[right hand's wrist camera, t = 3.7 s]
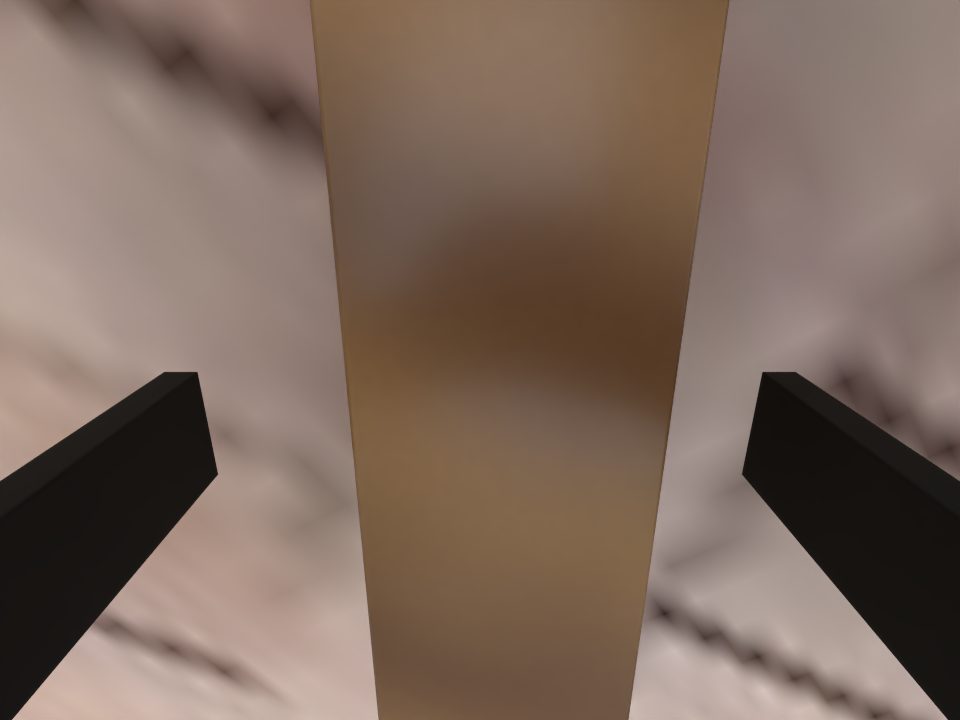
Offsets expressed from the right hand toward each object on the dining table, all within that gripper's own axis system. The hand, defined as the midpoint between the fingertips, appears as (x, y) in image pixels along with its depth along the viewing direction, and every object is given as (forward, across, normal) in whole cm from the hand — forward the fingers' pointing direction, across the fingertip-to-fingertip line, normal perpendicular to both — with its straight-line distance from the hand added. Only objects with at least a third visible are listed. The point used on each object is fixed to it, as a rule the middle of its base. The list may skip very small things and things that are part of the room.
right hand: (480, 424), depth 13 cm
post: (+4, -1, -33) cm, 34 cm away
